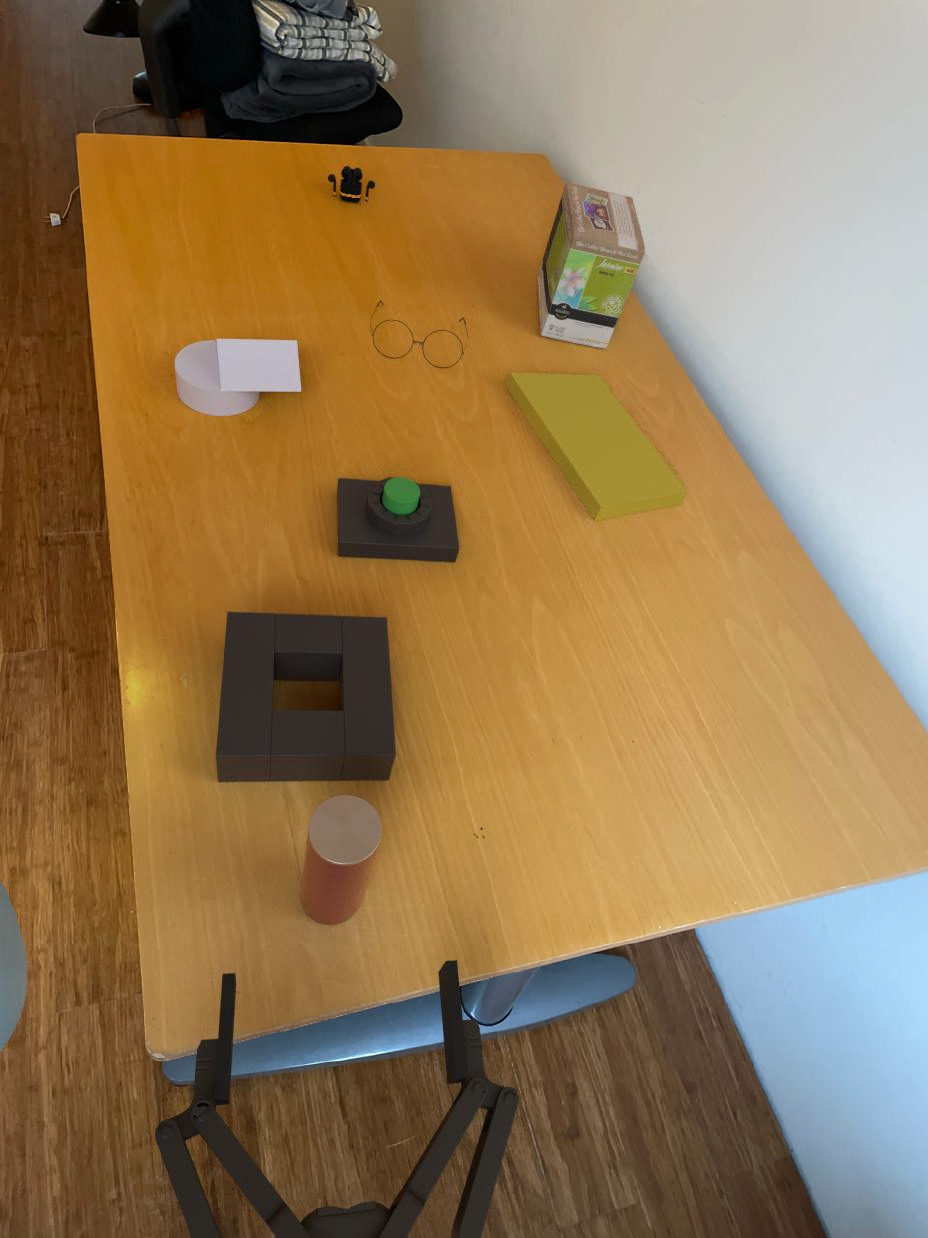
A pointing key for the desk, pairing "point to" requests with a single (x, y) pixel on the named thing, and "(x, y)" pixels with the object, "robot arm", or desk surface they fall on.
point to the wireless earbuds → (351, 184)
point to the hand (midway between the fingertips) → (341, 971)
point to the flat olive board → (596, 444)
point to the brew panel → (395, 523)
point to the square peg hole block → (305, 739)
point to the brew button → (401, 496)
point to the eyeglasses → (416, 341)
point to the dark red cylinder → (339, 858)
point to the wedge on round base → (235, 373)
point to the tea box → (588, 265)
